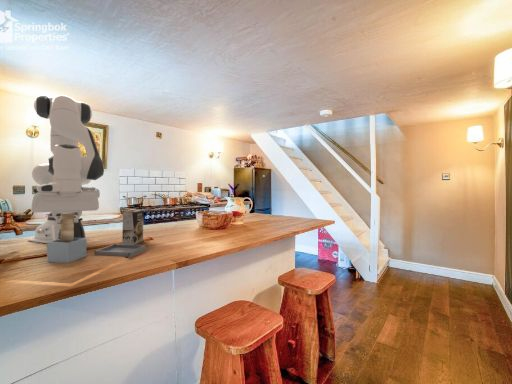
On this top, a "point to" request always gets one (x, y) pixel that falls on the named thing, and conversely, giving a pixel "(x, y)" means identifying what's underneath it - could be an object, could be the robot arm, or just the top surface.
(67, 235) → the dowel
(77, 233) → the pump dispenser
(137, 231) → the coffee box
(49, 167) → the robot arm
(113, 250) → the tray
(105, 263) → the top surface
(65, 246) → the slate blue storage bin
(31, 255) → the top surface
